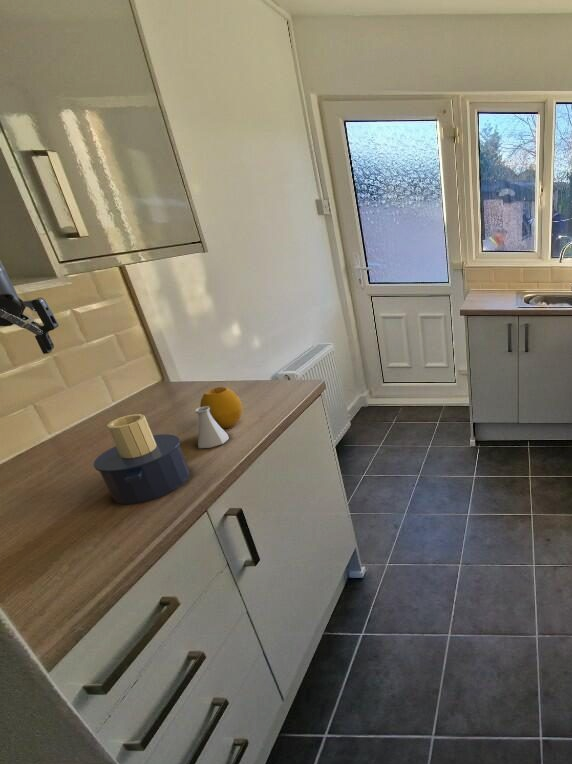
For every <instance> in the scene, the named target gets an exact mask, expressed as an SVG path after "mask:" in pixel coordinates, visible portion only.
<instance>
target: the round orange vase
mask: <svg viewBox="0 0 572 764" xmlns="http://www.w3.org/2000/svg"><path fill="white" fill-rule="evenodd" d="M199 406H200V407H203V406H209V408H210V410H209V412H210V414H211V416H212V417H213V419H214V420H215V421H216V422H217V424H218V425H219V426H220V427H221V428H222V429H229V428H232V427H234V426H235V425H236V424H238V422H239V420H240V419H241V416H242V413H243V404H242V401H241V399H240V398H239V396H238V395H237V394H236V393H235V392H234V391H233V390H231V389H229V388H228V387H223V386H218V387H215V388H211V389H210V390H208V391H206V392H204V394H203V395H202V397H201V399H200V403H199Z"/></svg>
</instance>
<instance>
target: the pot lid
mask: <svg viewBox="0 0 572 764" xmlns="http://www.w3.org/2000/svg"><path fill="white" fill-rule="evenodd" d="M152 435H153V437H154V440H155V442H156V445H157V446H156V448H155V449H154V450H153V451H151V452H150V453H147V454H145V455H142V456H139V457H135V458H123V457H121V456H120V453H119V451H118V449H117V447H116V445H115V446H113V447H111V448H109V449H107V450H105V451H104V452H103V453H101V454H100V455H98V456H97V457H96V458H95V460H94V461H93V467H94V469H95V470H96V471H98V472H99V473H100V472H121V471H127V470H131V469H135V468H139V467H142V466H145V465H148V464H151V463H153V462H156V461H158V460H160V459H162V458H164V457H166V456H167V455H169V454H171V453H172V452H173V451H175V450H176V449H177V448H178V446H179V445H181V439H180V438H179V437H178V436H177V435H175V434H169V433H160V434H152Z"/></svg>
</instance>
